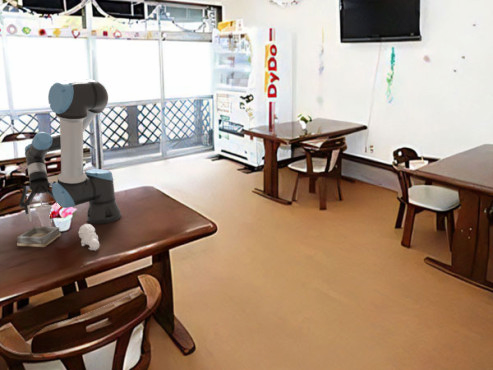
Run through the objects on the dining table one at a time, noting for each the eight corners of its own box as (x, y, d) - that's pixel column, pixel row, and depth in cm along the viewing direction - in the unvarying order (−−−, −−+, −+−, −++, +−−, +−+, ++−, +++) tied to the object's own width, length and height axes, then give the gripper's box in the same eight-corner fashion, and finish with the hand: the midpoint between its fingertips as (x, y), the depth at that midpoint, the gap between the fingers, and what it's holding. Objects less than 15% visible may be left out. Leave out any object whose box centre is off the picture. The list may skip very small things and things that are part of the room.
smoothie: (42, 224, 191) (37, 195, 187) (56, 224, 192) (51, 195, 188) (36, 230, 185) (31, 200, 181) (51, 229, 186) (46, 199, 181)
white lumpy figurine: (92, 220, 172) (102, 232, 163) (94, 238, 175) (104, 251, 166) (76, 224, 168) (86, 236, 159) (78, 243, 171) (88, 256, 163)
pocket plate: (61, 234, 180) (59, 227, 179) (44, 246, 169) (43, 238, 168) (35, 233, 182) (33, 226, 181) (17, 245, 171) (15, 237, 170)
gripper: (65, 175, 201) (73, 216, 192) (10, 182, 191) (16, 226, 182) (64, 167, 195) (73, 209, 186) (7, 174, 185) (14, 218, 176)
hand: (45, 217), depth 184 cm, fingers open, 11 cm apart
